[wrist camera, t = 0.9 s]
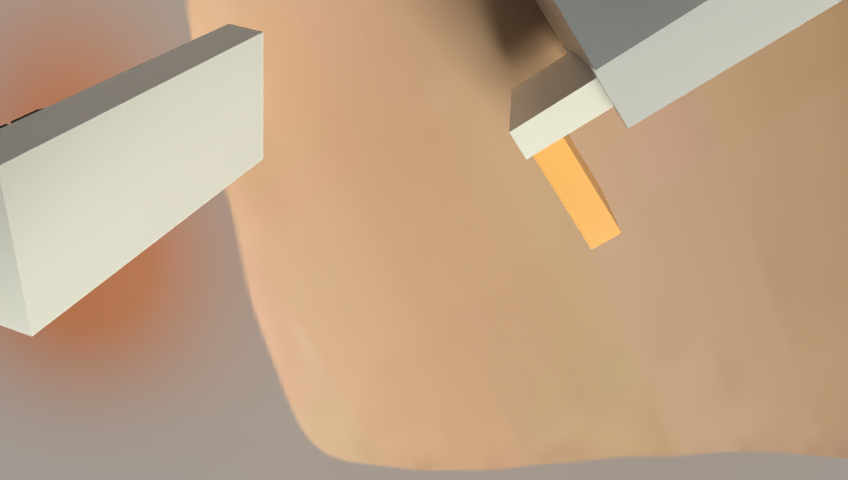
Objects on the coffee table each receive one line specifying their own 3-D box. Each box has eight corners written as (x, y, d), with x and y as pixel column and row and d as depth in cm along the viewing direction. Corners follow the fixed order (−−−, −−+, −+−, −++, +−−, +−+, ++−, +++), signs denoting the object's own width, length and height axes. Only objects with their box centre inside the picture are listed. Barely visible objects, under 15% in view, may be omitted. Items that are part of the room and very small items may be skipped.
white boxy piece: (511, 89, 36) (509, 132, 24) (752, -65, 33) (892, -107, 21) (572, 187, 37) (600, 277, 25) (811, 46, 34) (978, 69, 22)
